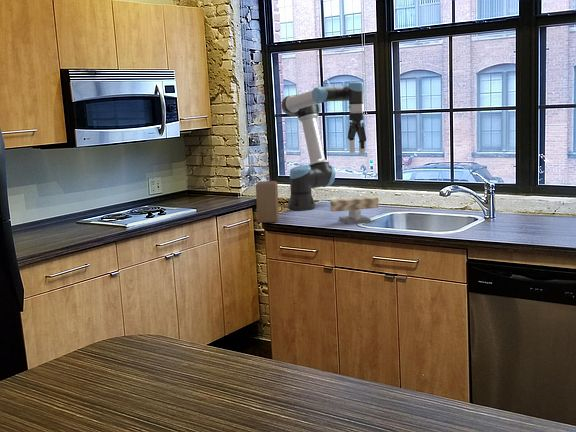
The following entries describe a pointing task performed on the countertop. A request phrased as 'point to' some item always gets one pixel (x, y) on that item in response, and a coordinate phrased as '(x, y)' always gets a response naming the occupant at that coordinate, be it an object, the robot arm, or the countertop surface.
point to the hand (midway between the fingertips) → (357, 153)
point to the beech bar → (354, 204)
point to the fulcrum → (354, 217)
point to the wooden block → (267, 201)
